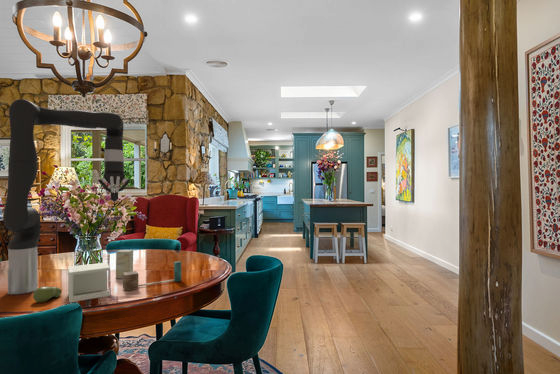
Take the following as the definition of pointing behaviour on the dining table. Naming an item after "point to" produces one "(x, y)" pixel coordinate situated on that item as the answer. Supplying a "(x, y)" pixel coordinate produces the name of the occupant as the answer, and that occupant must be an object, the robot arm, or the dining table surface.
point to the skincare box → (124, 262)
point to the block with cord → (132, 283)
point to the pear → (46, 293)
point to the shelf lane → (87, 281)
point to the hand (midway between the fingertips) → (114, 201)
